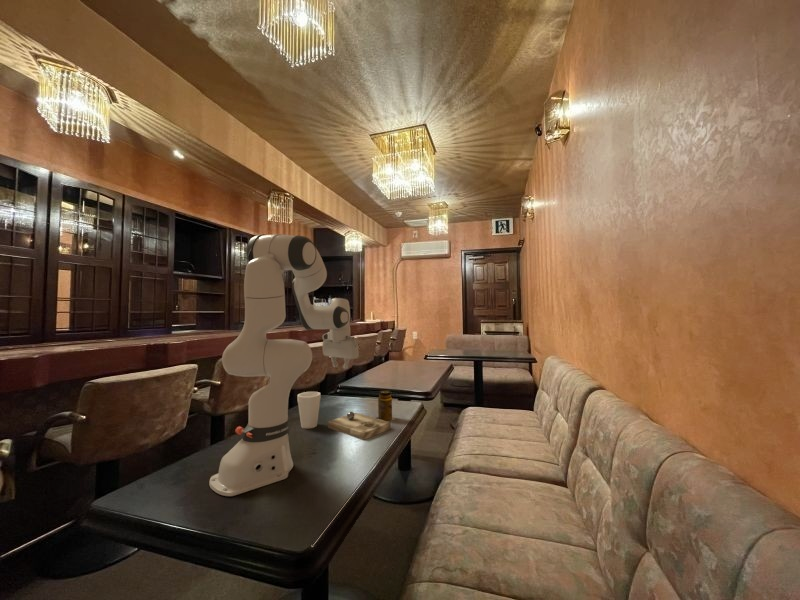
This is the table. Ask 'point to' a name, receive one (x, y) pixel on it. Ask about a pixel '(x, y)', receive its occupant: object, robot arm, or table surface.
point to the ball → (350, 415)
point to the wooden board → (359, 426)
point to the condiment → (385, 406)
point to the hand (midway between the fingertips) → (340, 367)
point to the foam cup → (309, 408)
